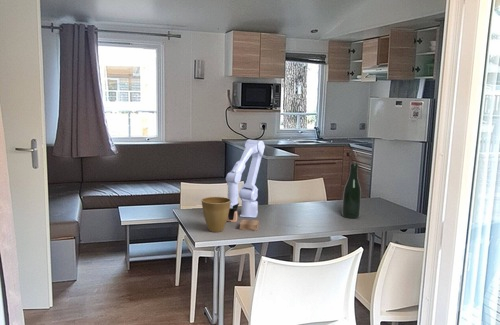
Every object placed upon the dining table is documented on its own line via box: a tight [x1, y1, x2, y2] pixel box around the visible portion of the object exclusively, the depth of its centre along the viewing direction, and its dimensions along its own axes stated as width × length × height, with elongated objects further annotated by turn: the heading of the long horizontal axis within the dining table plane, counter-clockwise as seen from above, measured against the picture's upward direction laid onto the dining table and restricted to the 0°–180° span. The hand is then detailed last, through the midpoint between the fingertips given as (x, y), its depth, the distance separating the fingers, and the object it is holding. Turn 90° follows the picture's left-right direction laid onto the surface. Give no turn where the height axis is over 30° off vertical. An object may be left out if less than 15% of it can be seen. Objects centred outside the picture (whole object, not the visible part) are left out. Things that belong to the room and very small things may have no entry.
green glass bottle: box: [341, 160, 362, 219], centre depth 268 cm, size 10×10×33 cm
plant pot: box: [201, 196, 231, 233], centre depth 233 cm, size 15×15×16 cm
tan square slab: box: [239, 219, 260, 232], centre depth 241 cm, size 9×9×3 cm
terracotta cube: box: [226, 210, 238, 223], centre depth 253 cm, size 5×5×5 cm
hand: (232, 218), depth 253 cm, fingers open, 7 cm apart
